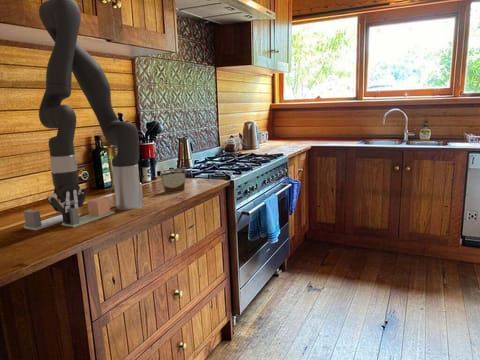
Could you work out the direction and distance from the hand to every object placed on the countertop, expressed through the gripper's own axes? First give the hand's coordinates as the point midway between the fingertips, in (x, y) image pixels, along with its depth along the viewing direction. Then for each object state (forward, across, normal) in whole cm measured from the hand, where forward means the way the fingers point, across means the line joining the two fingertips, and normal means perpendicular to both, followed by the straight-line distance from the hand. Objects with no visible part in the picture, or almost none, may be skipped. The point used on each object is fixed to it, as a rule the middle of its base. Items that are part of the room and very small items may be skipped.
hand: (71, 222), depth 120 cm
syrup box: (+2, -50, -29) cm, 57 cm away
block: (0, -12, 0) cm, 12 cm away
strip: (+1, 0, -9) cm, 9 cm away
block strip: (+1, -7, 0) cm, 7 cm away
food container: (+2, -56, -3) cm, 56 cm away
